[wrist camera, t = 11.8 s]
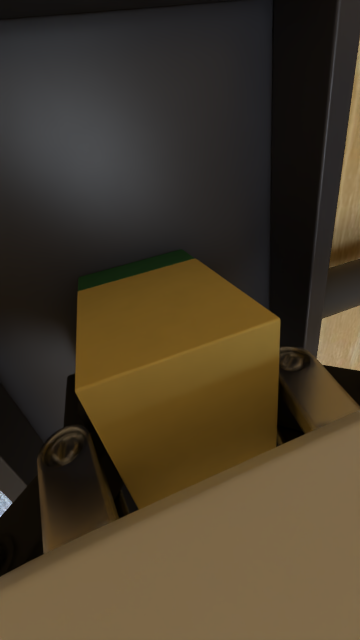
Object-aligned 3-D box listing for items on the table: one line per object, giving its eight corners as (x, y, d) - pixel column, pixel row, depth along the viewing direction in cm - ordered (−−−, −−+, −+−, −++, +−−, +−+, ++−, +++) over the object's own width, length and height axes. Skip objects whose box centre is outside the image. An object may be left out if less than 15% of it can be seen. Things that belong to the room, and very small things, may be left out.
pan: (76, 498, 16) (75, 565, 13) (-292, 7, 5) (-678, -169, 3) (271, 416, 19) (303, 457, 16) (279, -27, 8) (384, -134, 5)
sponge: (130, 407, 13) (161, 552, 8) (77, 276, 9) (73, 391, 4) (204, 379, 14) (275, 495, 9) (182, 248, 10) (281, 317, 5)
